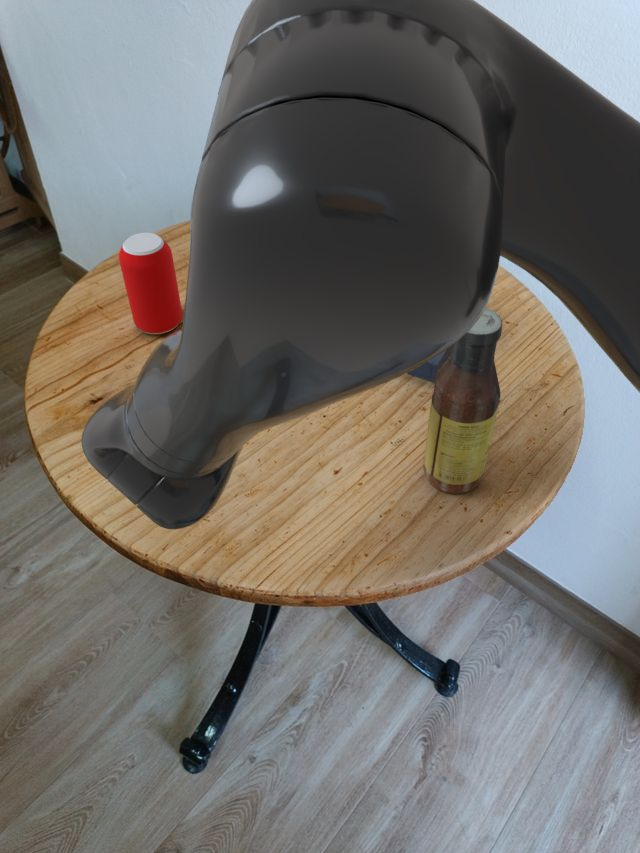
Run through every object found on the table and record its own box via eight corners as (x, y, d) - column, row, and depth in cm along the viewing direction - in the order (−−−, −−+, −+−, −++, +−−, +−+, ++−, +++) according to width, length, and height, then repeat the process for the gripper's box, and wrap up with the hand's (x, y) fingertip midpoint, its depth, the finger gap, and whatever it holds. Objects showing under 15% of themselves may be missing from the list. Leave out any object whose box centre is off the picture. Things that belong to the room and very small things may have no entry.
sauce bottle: (494, 479, 72) (539, 329, 57) (448, 506, 69) (483, 356, 55) (451, 441, 75) (484, 290, 61) (407, 465, 73) (429, 314, 58)
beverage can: (131, 315, 90) (112, 233, 82) (178, 305, 92) (164, 224, 83) (139, 343, 86) (120, 261, 78) (188, 333, 88) (174, 251, 79)
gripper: (360, 322, 53) (446, 226, 62) (212, 268, 58) (313, 187, 68) (357, 392, 58) (436, 295, 68) (222, 337, 64) (314, 254, 73)
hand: (375, 241), depth 68 cm, fingers open, 8 cm apart
